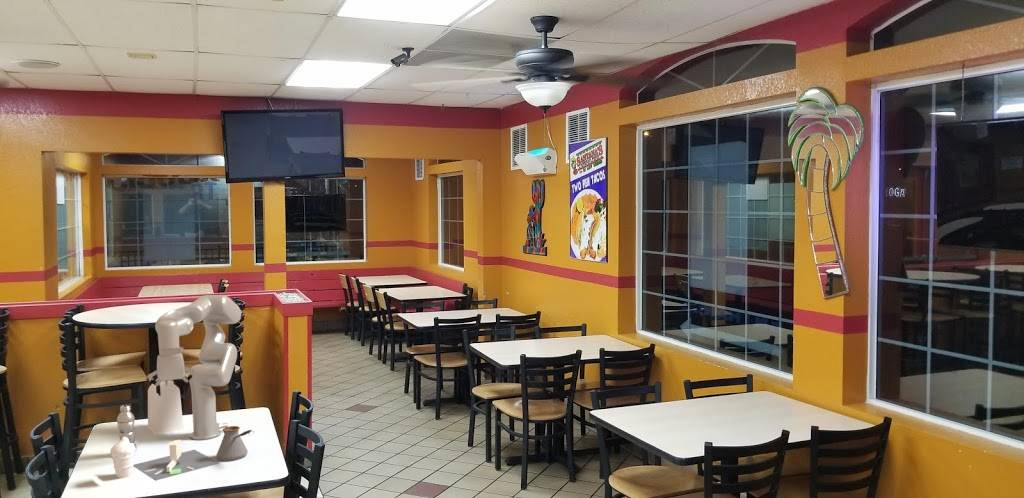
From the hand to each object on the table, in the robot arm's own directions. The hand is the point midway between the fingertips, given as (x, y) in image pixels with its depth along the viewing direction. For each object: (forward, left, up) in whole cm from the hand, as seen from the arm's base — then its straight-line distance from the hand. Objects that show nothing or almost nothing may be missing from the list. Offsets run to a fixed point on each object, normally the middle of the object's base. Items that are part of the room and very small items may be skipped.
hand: (172, 393), depth 302 cm
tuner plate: (+6, +15, -26) cm, 30 cm away
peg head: (+8, +18, -24) cm, 31 cm away
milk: (-11, -41, -26) cm, 49 cm away
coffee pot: (-13, +28, -26) cm, 40 cm away
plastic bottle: (+13, -17, -26) cm, 33 cm away
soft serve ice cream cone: (+24, +13, -26) cm, 37 cm away
